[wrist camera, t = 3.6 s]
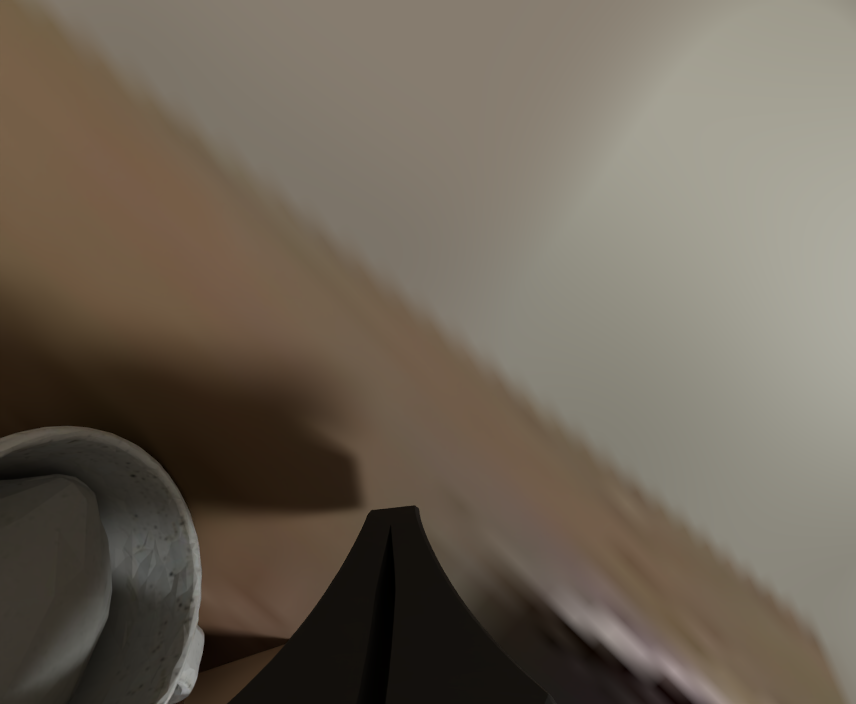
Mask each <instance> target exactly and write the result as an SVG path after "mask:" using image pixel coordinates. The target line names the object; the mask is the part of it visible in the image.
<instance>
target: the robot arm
mask: <svg viewBox="0 0 856 704" xmlns="http://www.w3.org/2000/svg"><path fill="white" fill-rule="evenodd" d="M227 704H556V703H555V701H554V700H553V698H552V696H551V695H550V694H549V693H548V692H547V691H546V690H544V689H543V688H542V687H541V686H540V685H539V684H538V683H537V682H535V681H534V680H533V679H532V678H531V677H530V676H529V675H528V674H527V673H526V672H525V671H524V670H522V669H521V668H520V667H519V666H518V665H517V664H516V663H515V662H514V661H513V660H512V659H511V657H510V656H509V655H508V654H507V653H506V652H505V651H504V650H503V649H502V648H501V647H500V646H499V645H498V644H497V642H496V641H495V640H494V639H493V638H492V637H491V636H490V634H489V633H488V632H487V631H486V630H485V629H484V628H483V626H482V625H481V624H480V623H479V622H478V620H477V619H476V618H475V616H474V615H473V614H472V613H471V611H470V610H469V609H468V607H467V606H466V605H465V603H464V602H463V600H462V599H461V597H460V596H459V595H458V593H457V592H456V590H455V589H454V587H453V585H452V584H451V582H450V581H449V579H448V577H447V576H446V574H445V572H444V570H443V569H442V567H441V565H440V563H439V561H438V560H437V557H436V555H435V553H434V551H433V549H432V547H431V545H430V543H429V541H428V539H427V536H426V534H425V531H424V528H423V525H422V522H421V519H420V513H419V508H417V507H416V506H415V505H414V506H405V507H397V508H388V509H379V510H371V511H370V512H369V514H368V515H367V518H366V520H365V522H364V525H363V527H362V529H361V531H360V533H359V535H358V537H357V539H356V541H355V543H354V545H353V547H352V549H351V551H350V552H349V554H348V556H347V558H346V559H345V561H344V563H343V565H342V567H341V568H340V570H339V572H338V573H337V575H336V576H335V578H334V579H333V581H332V582H331V584H330V586H329V587H328V589H327V590H326V592H325V593H324V595H323V596H322V598H321V599H320V601H319V602H318V603H317V605H316V606H315V608H314V609H313V610H312V612H311V613H310V614H309V616H308V617H307V618H306V619H305V621H304V622H303V623H302V625H301V626H300V627H299V628H298V630H297V631H296V632H295V633H294V634H293V635H292V637H291V638H290V639H289V640H288V641H287V643H286V644H285V645H284V646H283V647H282V649H281V650H280V651H279V652H278V653H277V654H276V655H275V656H274V657H273V659H272V660H271V661H270V662H269V663H268V664H267V665H266V666H265V667H264V668H263V669H262V670H261V671H260V672H259V673H258V674H257V675H256V676H255V677H254V678H253V679H252V680H251V681H250V682H249V683H248V684H247V685H246V686H245V687H244V688H243V689H242V690H241V691H240V692H239V693H238V694H237V695H236V696H235V697H234V698H232V699H231V700H230V701H229V702H228V703H227Z"/></svg>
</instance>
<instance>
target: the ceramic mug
mask: <svg viewBox="0 0 856 704" xmlns="http://www.w3.org/2000/svg"><path fill="white" fill-rule="evenodd" d="M201 580H202V568H201V560H200V549H199V542H198V537H197V534H196V530H195V527H194V524H193V520H192V517H191V514H190V511H189V509H188V507H187V505H186V503H185V501H184V499H183V497H182V495H181V493H180V491H179V489H178V487H177V486H176V484H175V483H174V482H173V480H172V479H171V477H170V476H169V474H168V473H167V472H166V471H165V470H164V468H163V467H162V466H161V464H160V463H159V462H158V461H156V460H155V459H154V458H153V457H152V456H151V455H149V454H148V453H147V452H146V451H145V450H143V449H142V448H140V447H139V446H138V445H136V444H134V443H132V442H130V441H128V440H126V439H124V438H122V437H120V436H117V435H115V434H113V433H111V432H106V431H101V430H96V429H92V428H88V427H76V426H54V427H42V428H37V429H33V430H28V431H23V432H18V433H14V434H11V435H8V436H5V437H3V438H0V704H175V703H177V702H180V701H181V700H183V699H185V698H186V697H188V696H189V694H190V693H191V691H192V689H193V687H194V685H195V683H196V680H197V677H198V670H199V665H200V661H201V657H202V654H203V647H204V632H203V630H202V629H201V628H200V627H199V626H198V625H197V623H198V614H199V607H200V602H201Z"/></svg>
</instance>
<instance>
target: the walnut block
mask: <svg viewBox="0 0 856 704" xmlns="http://www.w3.org/2000/svg"><path fill="white" fill-rule="evenodd" d="M284 645H285V644H284ZM284 645H281V646H278V647H275V648H272V649H269V650H266V651H263V652H260V653H257V654H254V655H251V656H248V657H245V658H242V659H239V660H236V661H233V662H230V663H227V664H224V665H221V666H219V667H216V668H213V669H210V670H207V671H204V672H201V673H198V677H197V680H196V683H195V685H194V687H193V689H192V691H191V693H190V694H189V696H188V697H186V698H185V701H184V703H183V704H227V703H228V702H229V701H230V700H231V699H232V698H234V697H235V696H236V695H237V694H238V693H239V692H240V691H241V690H242V689H243V688H244V687H245V686H246V685H247V684H248V683H249V682H250V681H251V680H252V679H253V678H254V677H255V676H256V675H257V674H258V673H259V672H260V671H261V670H262V669H263V668H264V667H265V666H266V665H267V664H268V663H269V662H270V661H271V660H272V659H273V657H274V656H275V655H276V654H277V653H278V652H279V651H280V650H281V649H282V647H283V646H284Z"/></svg>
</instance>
